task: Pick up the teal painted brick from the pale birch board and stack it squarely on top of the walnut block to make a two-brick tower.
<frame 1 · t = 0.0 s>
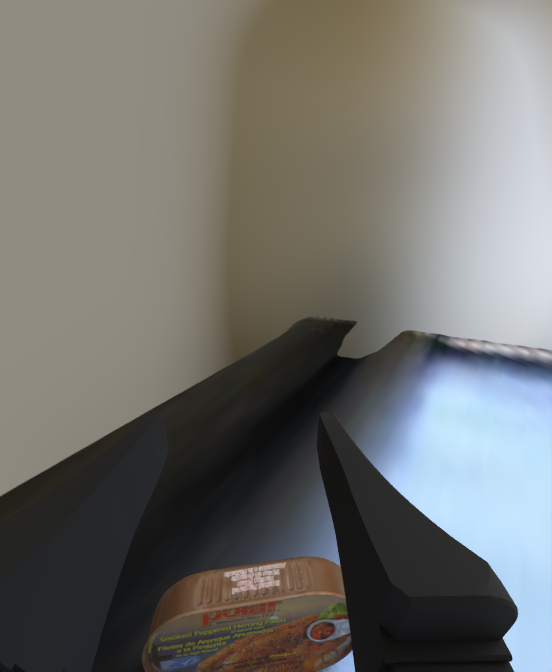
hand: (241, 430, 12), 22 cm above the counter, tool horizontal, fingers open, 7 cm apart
tin: (259, 652, 20), on the counter
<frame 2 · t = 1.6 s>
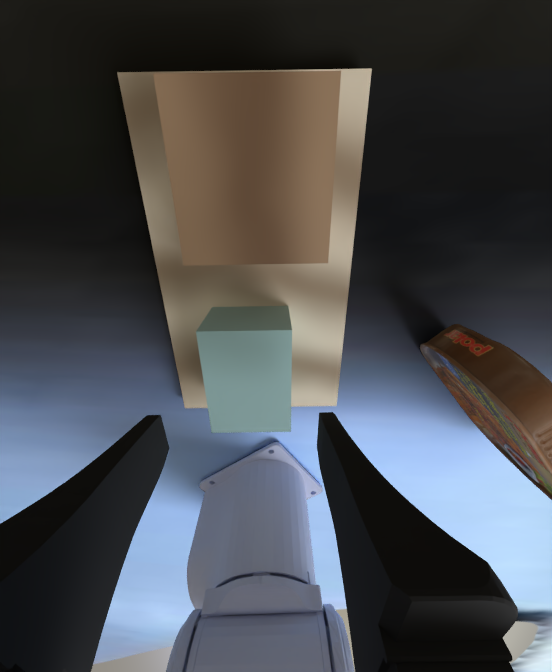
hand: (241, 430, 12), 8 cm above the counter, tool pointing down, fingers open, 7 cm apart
walnut block: (256, 188, 14), point 1 cm above the counter, touching birch board
teal brick: (253, 353, 19), point 1 cm above the counter, touching birch board
birch board: (255, 278, 17), on the counter
tin: (464, 378, 21), on the counter
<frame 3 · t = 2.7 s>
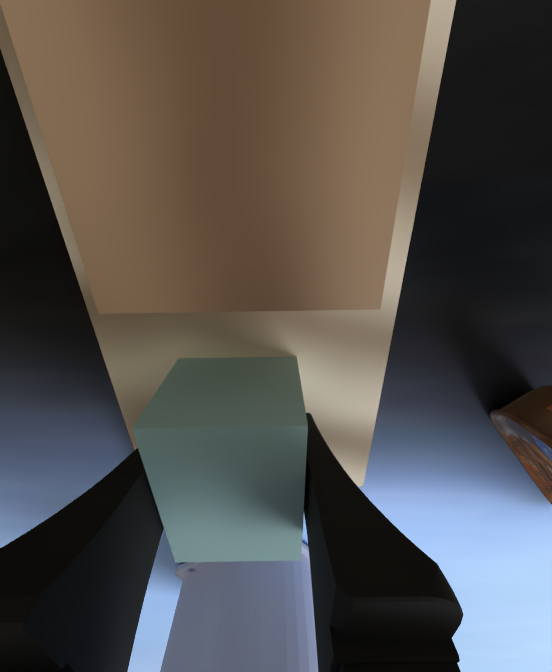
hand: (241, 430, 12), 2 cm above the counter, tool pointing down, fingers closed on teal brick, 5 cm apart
walnut block: (244, 168, 8), point 1 cm above the counter, touching birch board
teal brick: (243, 421, 13), point 1 cm above the counter, touching birch board, gripper
birch board: (246, 312, 11), on the counter
tin: (542, 445, 15), on the counter
when the fingers open (6 cm above the counter, at t = 6.0 s): teal brick stays where it is, resting on walnut block.
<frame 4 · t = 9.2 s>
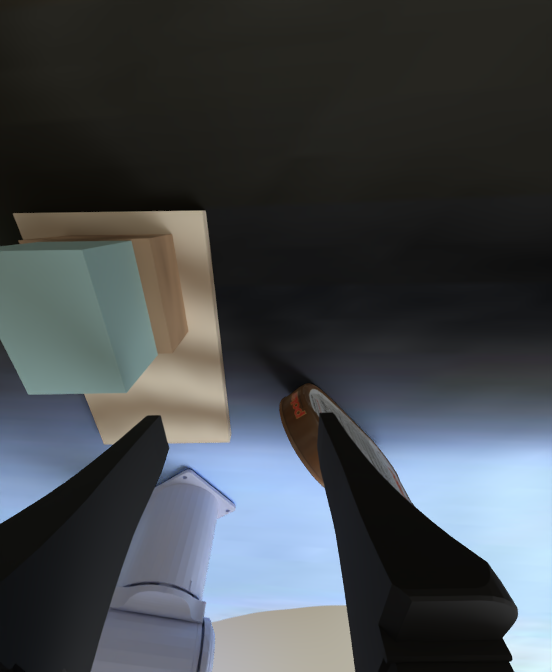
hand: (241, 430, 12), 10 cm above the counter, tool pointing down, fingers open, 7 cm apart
walnut block: (131, 287, 19), point 1 cm above the counter, touching birch board, teal brick
teal brick: (103, 303, 16), point 4 cm above the counter, touching walnut block
birch board: (148, 345, 22), on the counter
tin: (339, 418, 26), on the counter
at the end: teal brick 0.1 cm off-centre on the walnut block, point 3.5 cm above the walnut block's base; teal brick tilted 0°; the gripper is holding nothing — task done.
